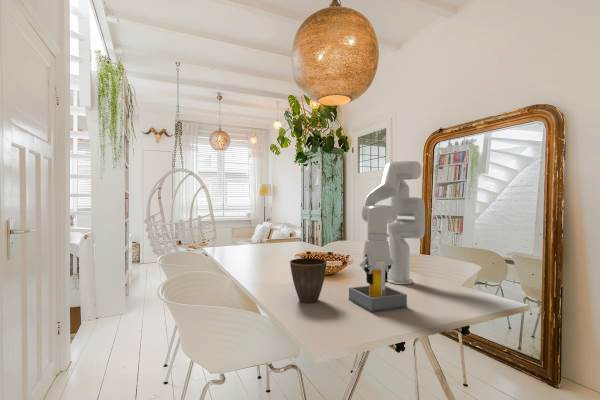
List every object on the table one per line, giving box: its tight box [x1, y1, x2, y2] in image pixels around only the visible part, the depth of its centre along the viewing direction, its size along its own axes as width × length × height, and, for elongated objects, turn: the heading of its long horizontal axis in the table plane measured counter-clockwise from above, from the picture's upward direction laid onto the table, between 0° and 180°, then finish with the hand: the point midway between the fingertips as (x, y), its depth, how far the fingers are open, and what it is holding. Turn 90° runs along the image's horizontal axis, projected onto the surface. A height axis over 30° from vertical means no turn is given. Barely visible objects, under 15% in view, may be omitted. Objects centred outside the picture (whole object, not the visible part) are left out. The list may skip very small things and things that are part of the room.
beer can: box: [368, 261, 386, 298], centre depth 126 cm, size 6×6×15 cm
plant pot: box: [289, 257, 328, 304], centre depth 129 cm, size 15×15×16 cm
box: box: [348, 285, 408, 314], centre depth 126 cm, size 16×16×5 cm
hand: (377, 282), depth 126 cm, fingers closed on beer can, 6 cm apart
